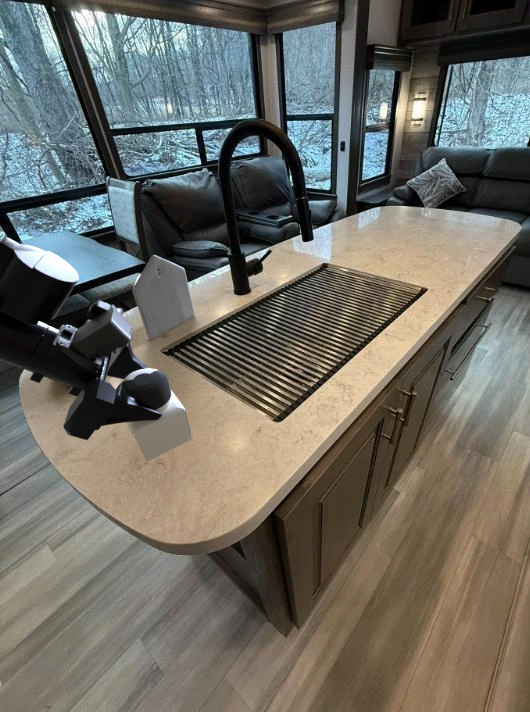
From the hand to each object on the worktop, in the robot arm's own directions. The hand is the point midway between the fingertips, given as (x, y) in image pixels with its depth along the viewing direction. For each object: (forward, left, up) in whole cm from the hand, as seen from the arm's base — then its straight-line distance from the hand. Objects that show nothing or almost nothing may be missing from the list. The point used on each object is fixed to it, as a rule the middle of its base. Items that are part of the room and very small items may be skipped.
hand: (160, 399), depth 48 cm
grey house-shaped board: (+18, +46, -13) cm, 51 cm away
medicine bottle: (-2, +1, -7) cm, 8 cm away
